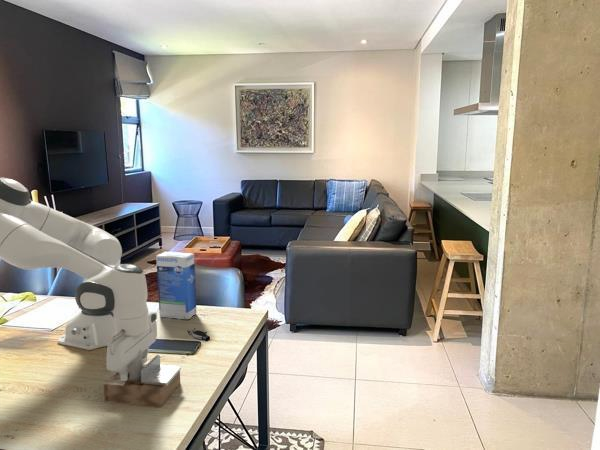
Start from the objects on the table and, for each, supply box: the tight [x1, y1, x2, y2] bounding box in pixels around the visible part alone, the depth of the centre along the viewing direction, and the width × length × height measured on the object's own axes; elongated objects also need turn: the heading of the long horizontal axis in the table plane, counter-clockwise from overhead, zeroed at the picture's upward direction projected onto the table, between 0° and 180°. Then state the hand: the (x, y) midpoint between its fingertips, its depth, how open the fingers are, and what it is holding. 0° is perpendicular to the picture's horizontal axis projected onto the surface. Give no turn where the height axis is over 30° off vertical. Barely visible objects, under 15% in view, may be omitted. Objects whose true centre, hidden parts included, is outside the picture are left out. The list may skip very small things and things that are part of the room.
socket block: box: [103, 363, 181, 408], centre depth 122 cm, size 16×12×5 cm
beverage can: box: [126, 350, 143, 381], centre depth 121 cm, size 5×5×12 cm
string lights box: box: [155, 251, 197, 320], centre depth 176 cm, size 13×8×26 cm, turn 77°
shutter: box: [141, 354, 182, 386], centre depth 120 cm, size 7×9×4 cm
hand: (134, 370), depth 121 cm, fingers open, 8 cm apart
